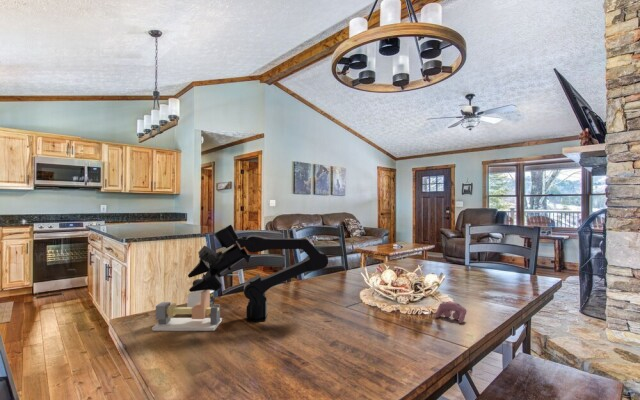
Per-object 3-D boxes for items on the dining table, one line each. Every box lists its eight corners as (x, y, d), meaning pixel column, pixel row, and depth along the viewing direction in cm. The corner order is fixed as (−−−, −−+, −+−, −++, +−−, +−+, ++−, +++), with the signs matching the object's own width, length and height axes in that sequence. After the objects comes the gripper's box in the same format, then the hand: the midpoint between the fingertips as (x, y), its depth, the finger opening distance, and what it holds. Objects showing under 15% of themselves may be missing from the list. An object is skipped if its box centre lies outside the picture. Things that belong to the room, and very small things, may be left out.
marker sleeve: (209, 313, 115) (209, 287, 115) (203, 319, 109) (204, 292, 109) (198, 313, 115) (198, 287, 115) (191, 319, 109) (191, 292, 109)
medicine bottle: (204, 314, 123) (204, 282, 123) (186, 313, 124) (187, 281, 124) (214, 308, 130) (214, 278, 130) (197, 307, 131) (197, 277, 131)
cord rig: (222, 320, 117) (222, 300, 117) (214, 330, 108) (214, 308, 108) (164, 320, 116) (164, 300, 116) (152, 330, 107) (152, 308, 107)
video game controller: (465, 326, 117) (468, 306, 120) (461, 323, 114) (464, 303, 117) (438, 319, 124) (442, 300, 126) (433, 316, 121) (437, 297, 123)
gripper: (213, 230, 121) (174, 254, 119) (220, 254, 105) (175, 282, 103) (229, 252, 127) (192, 275, 124) (238, 278, 111) (196, 305, 108)
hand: (189, 283), depth 114 cm, fingers open, 9 cm apart
